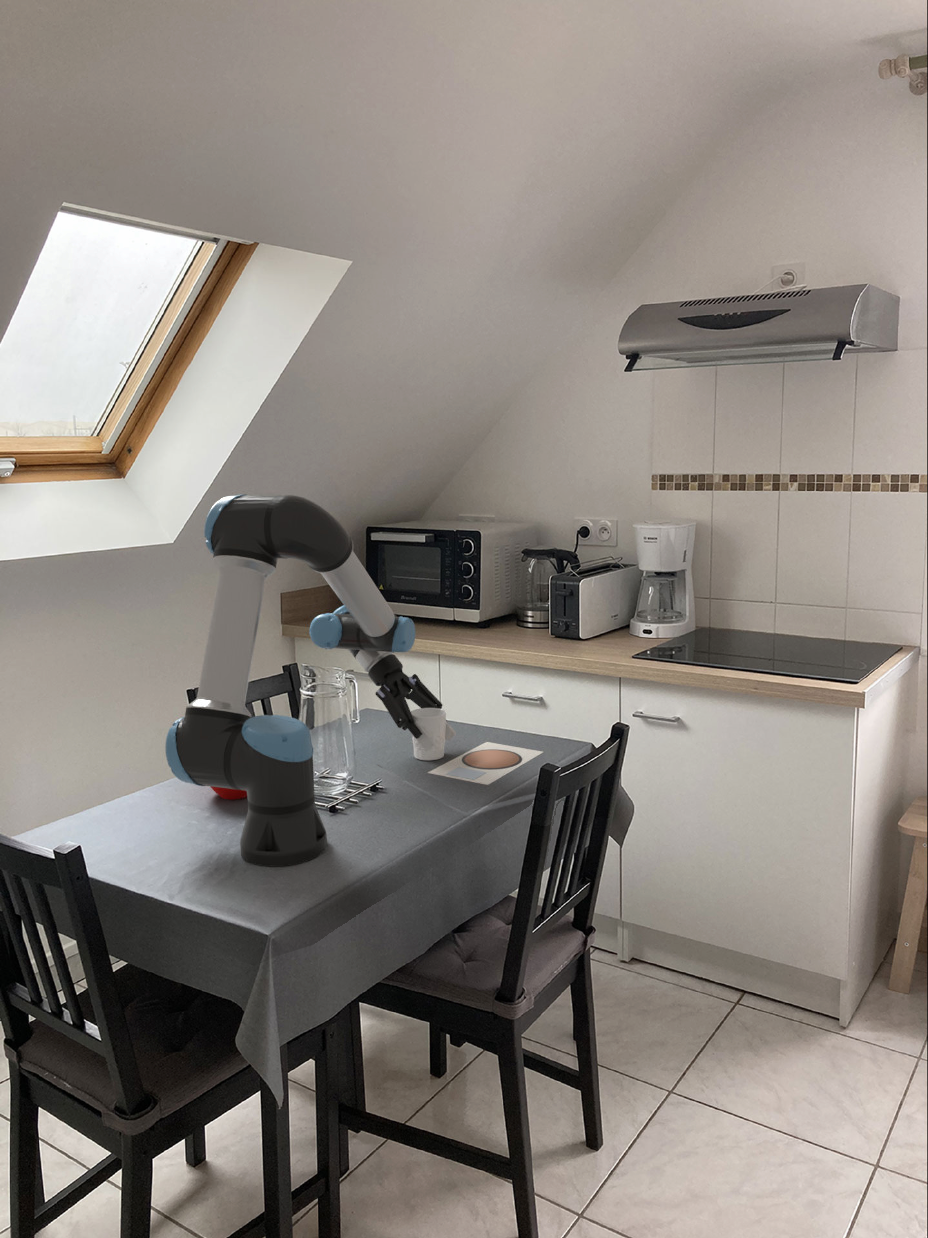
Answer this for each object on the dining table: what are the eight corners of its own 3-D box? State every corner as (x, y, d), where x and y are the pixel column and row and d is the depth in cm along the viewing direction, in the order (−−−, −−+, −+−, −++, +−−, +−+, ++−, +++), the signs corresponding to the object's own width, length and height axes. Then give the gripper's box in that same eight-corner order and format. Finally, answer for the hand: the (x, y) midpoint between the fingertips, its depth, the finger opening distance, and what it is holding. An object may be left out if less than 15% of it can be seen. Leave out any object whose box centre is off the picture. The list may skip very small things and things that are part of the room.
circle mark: (484, 773, 214) (483, 773, 214) (450, 757, 225) (450, 756, 225) (534, 761, 221) (534, 760, 221) (499, 746, 232) (499, 745, 232)
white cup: (446, 761, 222) (445, 717, 220) (410, 762, 222) (408, 717, 220) (447, 750, 230) (446, 707, 228) (412, 750, 230) (411, 707, 228)
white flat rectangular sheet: (487, 788, 208) (487, 784, 207) (427, 776, 216) (427, 772, 216) (543, 755, 227) (543, 751, 227) (486, 745, 235) (486, 741, 235)
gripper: (397, 664, 240) (456, 740, 234) (342, 683, 222) (405, 765, 217) (415, 644, 236) (476, 720, 230) (361, 662, 219) (425, 745, 213)
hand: (441, 742), depth 224 cm, fingers closed on white cup, 8 cm apart
